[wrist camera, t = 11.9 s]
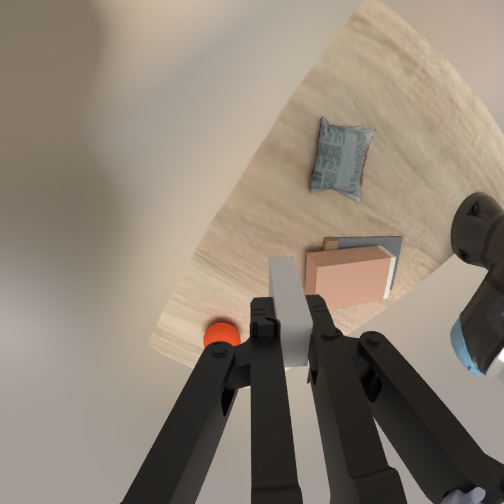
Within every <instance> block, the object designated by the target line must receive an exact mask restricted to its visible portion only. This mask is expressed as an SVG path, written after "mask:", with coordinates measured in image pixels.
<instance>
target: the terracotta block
mask: <svg viewBox="0 0 504 504" xmlns="http://www.w3.org/2000/svg"><path fill="white" fill-rule="evenodd" d="M395 260H396V257H395V256H394V255H393V254H392V253H390V252H389V251H388V250H387V249H385V248H384V247H383V246H382V245H376V246H367V247H358V248H349V249H339V250H330V251H321V252H311V253H307V262H306V284H305V295H314V294H319V295H320V296H321V297H322V298H323V299H324V300H325V302H326V305H327V307H328V310H330V309H336V308H341V307H347V306H352V305H358V304H363V303H368V302H373V301H378V300H383V299H387V298H388V295H389V290H390V286H391V281H392V276H393V271H394V266H395Z"/></svg>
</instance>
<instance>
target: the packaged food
mask: <svg viewBox="0 0 504 504" xmlns="http://www.w3.org/2000/svg"><path fill="white" fill-rule="evenodd" d="M320 127H321V128H320V133H319V140H318V150H317V158H316V163H315V168H314V170H313V173H312V178H311V181H310V192H311V193H316V192H319V191H322V190H325V189H333V190H336V191H339V192H340V193H342V194H344V195H346V196H347V197H349V198H351V199H353V201H355V202H356V203H359V202H360V200H361V198H362V193H361V187H362V181H363V168H364V166H365V161H366V159H367V151H368V149H369V145H370V142H371V139H372V137H373V134H374V132H375V130H368V129H362V128H361V127H360V126H357V127H342V126H334V125H331V126H329V124H328V122H327V120H326V119H325V117H324V116H323V117H322V119H321V125H320Z"/></svg>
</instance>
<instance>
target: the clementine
mask: <svg viewBox="0 0 504 504" xmlns="http://www.w3.org/2000/svg"><path fill="white" fill-rule="evenodd" d="M216 341H225V342H228V343H230V344H231V345H233V346H236V345H239V344H240V343H241V339H240V335H239V333H238V331H237V330H236V329H235V328H234V327H233V326H232V325H230V324H227V323H217V324H214V325H212V326H210V327H209V328H208V329H207V330H206V333H205V335H204V347H205V348H206V346H207V345H209V344H210V343H212V342H216Z"/></svg>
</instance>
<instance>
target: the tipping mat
mask: <svg viewBox="0 0 504 504" xmlns="http://www.w3.org/2000/svg"><path fill="white" fill-rule="evenodd" d="M401 243H402V236H394V237H332V238H324V247H323V251H330V250H339V249H349V248H358V247H367V246H376V245H382V246H383V247H384V248H385V249H387V250H388V251H389V252H390V253H392V254H393V255H394V256H395V257H396V260H395V266H394V271H393V276H392V281H391V286H390V290H392V286H393V282H394V278H395V273H396V269H397V264H398V259H399V254H400V248H401Z"/></svg>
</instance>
